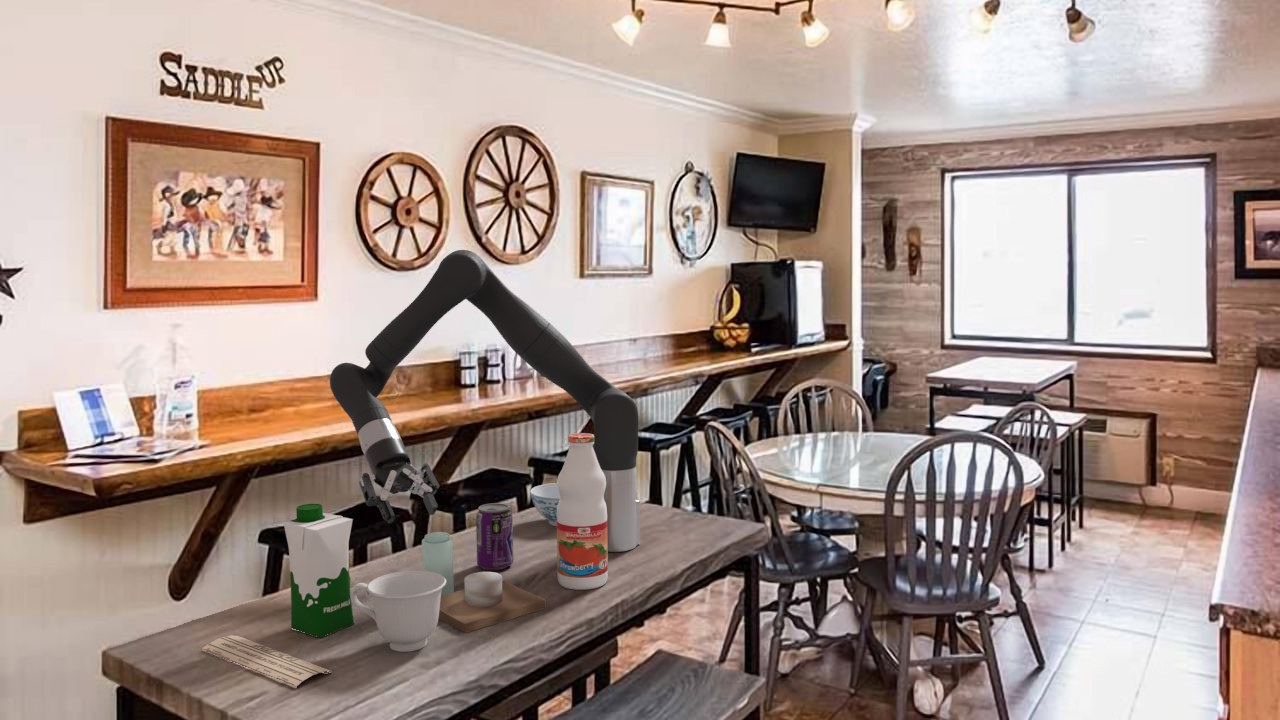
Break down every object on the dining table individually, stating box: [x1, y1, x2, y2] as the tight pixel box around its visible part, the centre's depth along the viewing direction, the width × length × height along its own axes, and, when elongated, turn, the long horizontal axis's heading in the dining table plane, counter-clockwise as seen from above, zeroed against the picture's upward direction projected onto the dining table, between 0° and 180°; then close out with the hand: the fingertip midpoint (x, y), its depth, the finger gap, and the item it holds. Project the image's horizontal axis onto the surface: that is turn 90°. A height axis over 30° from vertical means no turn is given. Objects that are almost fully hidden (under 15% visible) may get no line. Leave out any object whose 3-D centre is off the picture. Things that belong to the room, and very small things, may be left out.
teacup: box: [350, 570, 446, 653], centre depth 143 cm, size 12×15×10 cm
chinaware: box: [529, 482, 560, 527], centre depth 212 cm, size 15×15×8 cm
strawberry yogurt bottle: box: [556, 432, 609, 591], centre depth 170 cm, size 9×9×28 cm
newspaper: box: [202, 635, 333, 687], centre depth 138 cm, size 24×7×2 cm, turn 56°
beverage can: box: [475, 502, 514, 571], centre depth 181 cm, size 7×7×12 cm
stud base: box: [438, 571, 546, 634], centre depth 158 cm, size 16×14×6 cm
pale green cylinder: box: [421, 531, 455, 596], centre depth 166 cm, size 5×5×11 cm
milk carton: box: [283, 503, 355, 638], centre depth 150 cm, size 9×9×20 cm
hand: (413, 516), depth 172 cm, fingers open, 8 cm apart
